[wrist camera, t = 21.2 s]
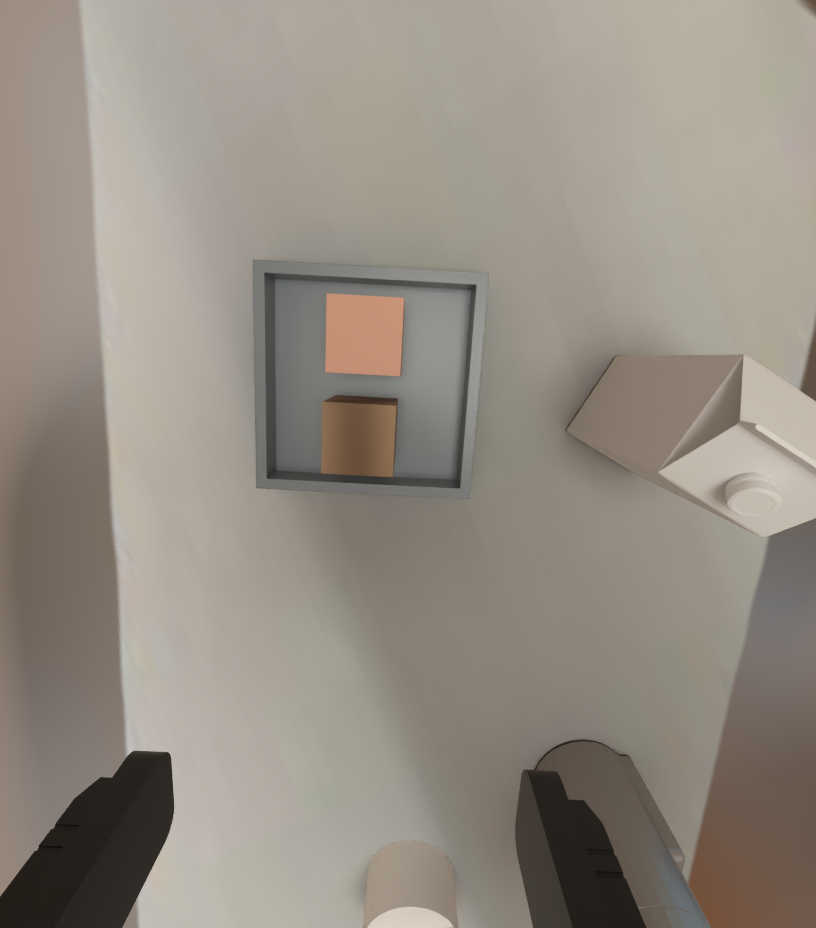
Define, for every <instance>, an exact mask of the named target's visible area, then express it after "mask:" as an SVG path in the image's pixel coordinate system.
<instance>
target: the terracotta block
mask: <svg viewBox="0 0 816 928" xmlns="http://www.w3.org/2000/svg"><path fill="white" fill-rule="evenodd" d="M404 312H405V304H404V298H401V297H383V296H366V295H348V294H330V293H327V299H326V362H325V372H331V373H349V374H367V375H385V376H401V372H402V352H403V332H404Z"/></svg>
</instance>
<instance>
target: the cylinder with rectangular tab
mask: <svg viewBox="0 0 816 928" xmlns="http://www.w3.org/2000/svg"><path fill="white" fill-rule="evenodd" d="M363 928H458V921H457V910H456V899H455V887H454V876H453V868H452V866H451V863H450V860H449V859H448V858H447V857H446V855H445V854H444V853H443V852H442V851H440V850H439V849H438V848H436V847H435V846H432V845H430V844H428V843H425V842H419V841H401V842H397V843H393V844H391V845H389V846H387V847H385V848H383V849H381V850H380V851H379V852H378V853H377V854H376V855H375V856H374V857H373V859H372V860H371V862H370V864H369V868H368V872H367V883H366V896H365V909H364V922H363Z"/></svg>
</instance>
